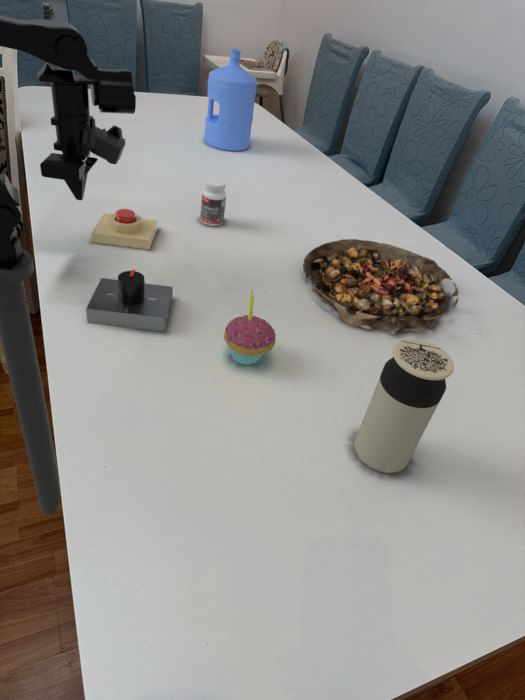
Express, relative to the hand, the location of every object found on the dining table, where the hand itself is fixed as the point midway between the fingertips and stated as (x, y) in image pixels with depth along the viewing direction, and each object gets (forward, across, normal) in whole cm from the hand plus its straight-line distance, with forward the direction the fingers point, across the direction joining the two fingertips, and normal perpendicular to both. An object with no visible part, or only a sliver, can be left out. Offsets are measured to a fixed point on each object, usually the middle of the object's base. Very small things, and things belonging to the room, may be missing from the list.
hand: (79, 199), depth 94 cm
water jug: (+12, +86, -24) cm, 90 cm away
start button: (+8, +11, -6) cm, 15 cm away
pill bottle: (+12, +24, -24) cm, 36 cm away
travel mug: (+12, -44, -54) cm, 71 cm away
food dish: (+12, +2, -62) cm, 63 cm away
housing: (+12, +11, -6) cm, 17 cm away
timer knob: (+9, -17, -13) cm, 23 cm away
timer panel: (+12, -17, -13) cm, 25 cm away
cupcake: (+12, -26, -34) cm, 45 cm away
